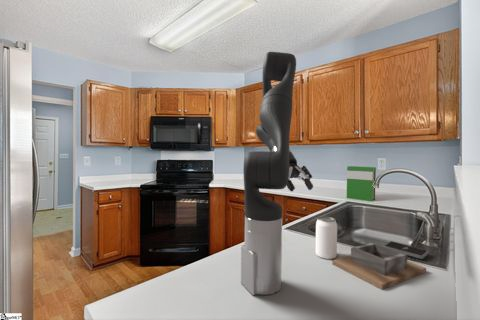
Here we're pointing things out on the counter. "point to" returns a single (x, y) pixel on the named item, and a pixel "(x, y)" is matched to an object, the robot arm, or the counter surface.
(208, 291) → the counter surface
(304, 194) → the counter surface
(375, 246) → the socket board
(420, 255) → the external hard drive
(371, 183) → the green cereal box
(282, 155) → the robot arm
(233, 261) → the counter surface
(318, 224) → the can
